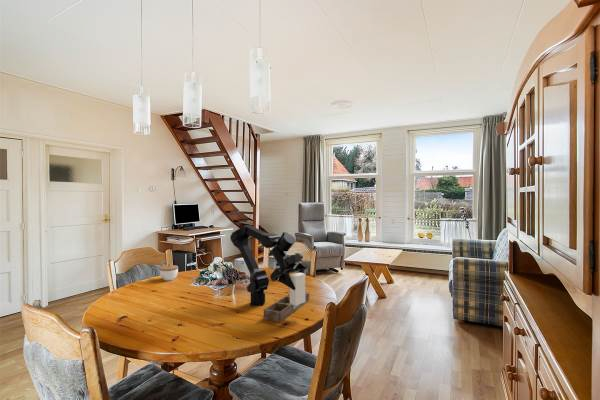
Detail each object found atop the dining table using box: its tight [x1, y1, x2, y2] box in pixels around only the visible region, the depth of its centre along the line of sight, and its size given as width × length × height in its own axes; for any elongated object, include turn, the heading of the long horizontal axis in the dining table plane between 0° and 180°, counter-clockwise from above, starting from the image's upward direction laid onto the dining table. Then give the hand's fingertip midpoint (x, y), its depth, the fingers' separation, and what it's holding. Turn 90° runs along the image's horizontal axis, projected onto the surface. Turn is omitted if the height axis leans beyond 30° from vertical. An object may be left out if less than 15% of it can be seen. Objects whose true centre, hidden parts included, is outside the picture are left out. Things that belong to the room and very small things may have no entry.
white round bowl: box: [159, 264, 179, 282], centre depth 189 cm, size 11×11×9 cm
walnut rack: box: [263, 291, 310, 323], centre depth 139 cm, size 8×29×4 cm, turn 154°
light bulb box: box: [234, 257, 250, 275], centre depth 201 cm, size 11×7×11 cm, turn 141°
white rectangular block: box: [289, 272, 306, 306], centre depth 128 cm, size 4×6×12 cm, turn 137°
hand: (299, 287), depth 127 cm, fingers closed on white rectangular block, 6 cm apart
